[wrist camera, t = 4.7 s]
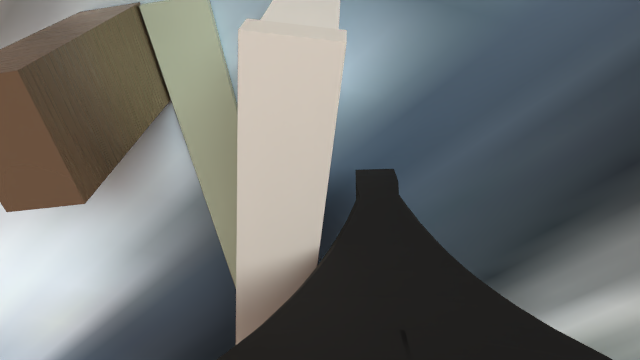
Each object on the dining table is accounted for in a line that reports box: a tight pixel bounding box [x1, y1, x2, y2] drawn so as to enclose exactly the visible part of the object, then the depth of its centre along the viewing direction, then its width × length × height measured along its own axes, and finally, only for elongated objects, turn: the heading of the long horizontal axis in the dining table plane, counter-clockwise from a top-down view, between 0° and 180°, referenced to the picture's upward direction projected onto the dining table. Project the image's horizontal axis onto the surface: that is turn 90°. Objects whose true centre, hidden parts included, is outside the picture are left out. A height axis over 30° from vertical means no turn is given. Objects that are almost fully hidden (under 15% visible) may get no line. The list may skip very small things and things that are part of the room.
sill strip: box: [139, 0, 238, 287], centre depth 14 cm, size 2×11×1 cm, turn 9°
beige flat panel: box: [236, 0, 347, 345], centre depth 11 cm, size 12×1×5 cm, turn 174°
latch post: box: [0, 2, 171, 212], centre depth 10 cm, size 2×2×5 cm, turn 8°
